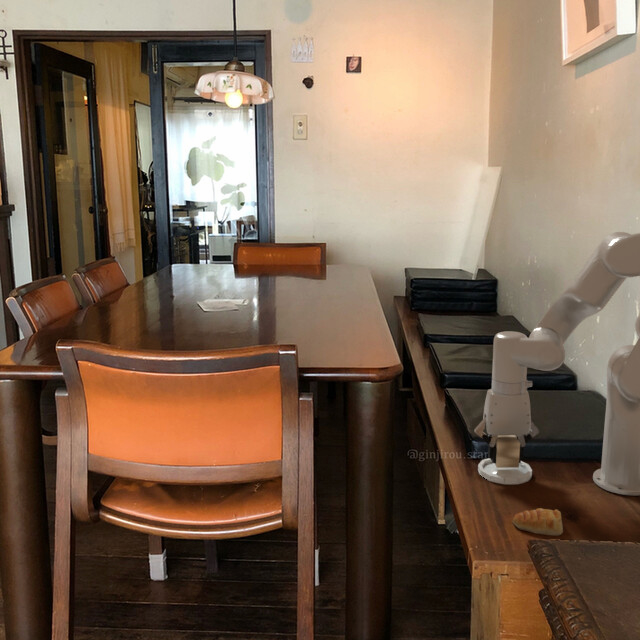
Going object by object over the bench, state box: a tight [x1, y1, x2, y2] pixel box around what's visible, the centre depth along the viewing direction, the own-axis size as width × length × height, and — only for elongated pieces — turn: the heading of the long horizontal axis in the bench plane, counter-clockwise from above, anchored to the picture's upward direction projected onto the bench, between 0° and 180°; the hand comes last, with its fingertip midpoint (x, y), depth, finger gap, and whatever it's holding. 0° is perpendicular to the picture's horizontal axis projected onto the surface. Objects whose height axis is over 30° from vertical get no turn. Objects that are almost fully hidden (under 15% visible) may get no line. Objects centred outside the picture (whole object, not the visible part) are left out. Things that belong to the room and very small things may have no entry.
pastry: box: [512, 507, 564, 536], centre depth 137 cm, size 9×7×4 cm
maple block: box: [495, 435, 520, 468], centre depth 160 cm, size 5×5×6 cm
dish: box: [477, 457, 533, 486], centre depth 161 cm, size 12×12×1 cm
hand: (505, 460), depth 161 cm, fingers closed on maple block, 5 cm apart
